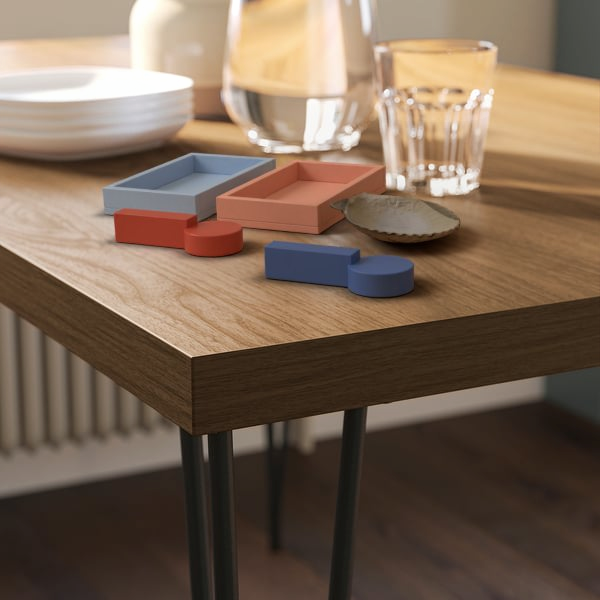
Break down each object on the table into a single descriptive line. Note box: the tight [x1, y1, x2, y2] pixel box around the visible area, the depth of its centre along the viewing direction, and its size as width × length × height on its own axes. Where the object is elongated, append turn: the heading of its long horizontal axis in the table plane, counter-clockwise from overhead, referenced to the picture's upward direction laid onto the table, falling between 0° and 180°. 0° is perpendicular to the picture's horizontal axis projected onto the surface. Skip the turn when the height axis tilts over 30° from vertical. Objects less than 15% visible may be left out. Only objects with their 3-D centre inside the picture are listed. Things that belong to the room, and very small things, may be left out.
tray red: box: [216, 159, 387, 235], centre depth 86 cm, size 13×8×2 cm, turn 156°
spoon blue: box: [263, 240, 415, 298], centre depth 69 cm, size 9×4×2 cm, turn 66°
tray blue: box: [102, 152, 277, 222], centre depth 90 cm, size 13×8×2 cm, turn 156°
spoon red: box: [113, 208, 244, 258], centre depth 77 cm, size 9×4×2 cm, turn 66°
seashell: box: [330, 192, 461, 245], centre depth 77 cm, size 8×3×8 cm
